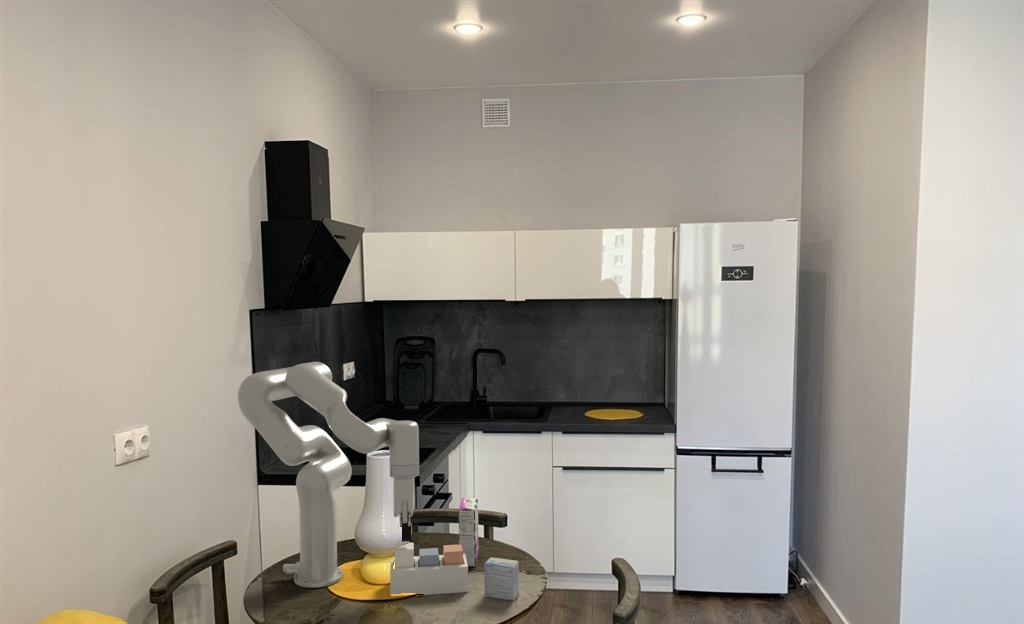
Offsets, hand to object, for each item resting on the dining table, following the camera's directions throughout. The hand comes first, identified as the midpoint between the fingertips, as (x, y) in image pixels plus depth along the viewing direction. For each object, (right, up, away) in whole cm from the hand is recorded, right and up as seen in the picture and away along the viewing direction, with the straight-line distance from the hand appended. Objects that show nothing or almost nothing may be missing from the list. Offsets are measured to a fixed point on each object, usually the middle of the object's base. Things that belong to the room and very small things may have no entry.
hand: (405, 540), depth 171 cm
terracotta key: (+12, -9, +2) cm, 15 cm away
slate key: (+6, -10, +1) cm, 11 cm away
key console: (+6, -13, +1) cm, 14 cm away
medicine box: (+25, -13, -4) cm, 28 cm away
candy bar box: (+15, -13, +20) cm, 28 cm away
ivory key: (0, -8, 0) cm, 8 cm away
